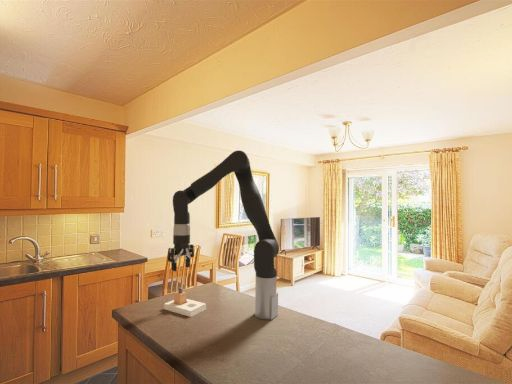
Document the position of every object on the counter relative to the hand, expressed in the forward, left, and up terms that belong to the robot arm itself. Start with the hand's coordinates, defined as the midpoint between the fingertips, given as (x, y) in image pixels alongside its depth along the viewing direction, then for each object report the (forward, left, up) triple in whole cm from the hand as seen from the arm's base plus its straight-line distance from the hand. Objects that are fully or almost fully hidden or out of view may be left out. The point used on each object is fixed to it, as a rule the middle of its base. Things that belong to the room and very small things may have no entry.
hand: (181, 268), depth 129 cm
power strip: (-3, 0, -18) cm, 18 cm away
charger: (0, 0, -18) cm, 18 cm away
